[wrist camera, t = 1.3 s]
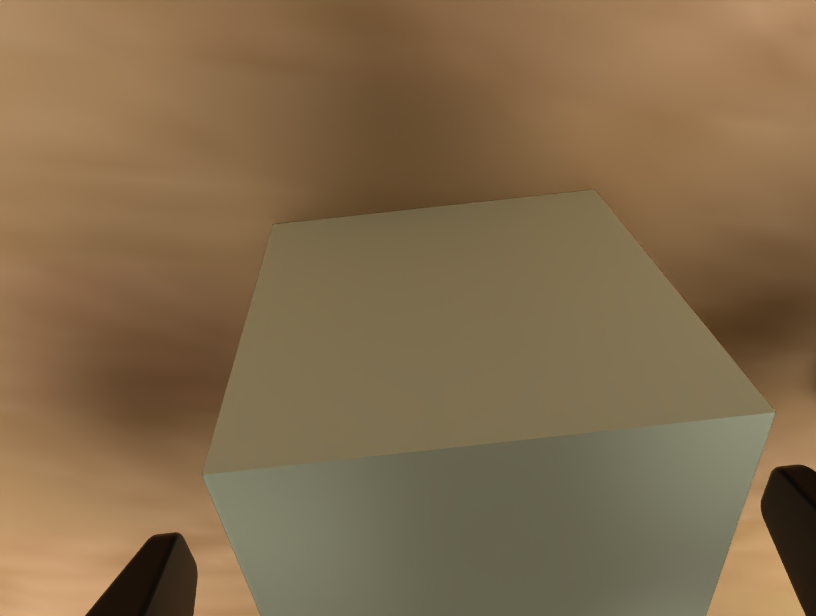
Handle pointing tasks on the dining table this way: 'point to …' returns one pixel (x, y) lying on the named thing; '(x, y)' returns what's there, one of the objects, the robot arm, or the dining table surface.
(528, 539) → the sage cube
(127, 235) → the dining table surface
